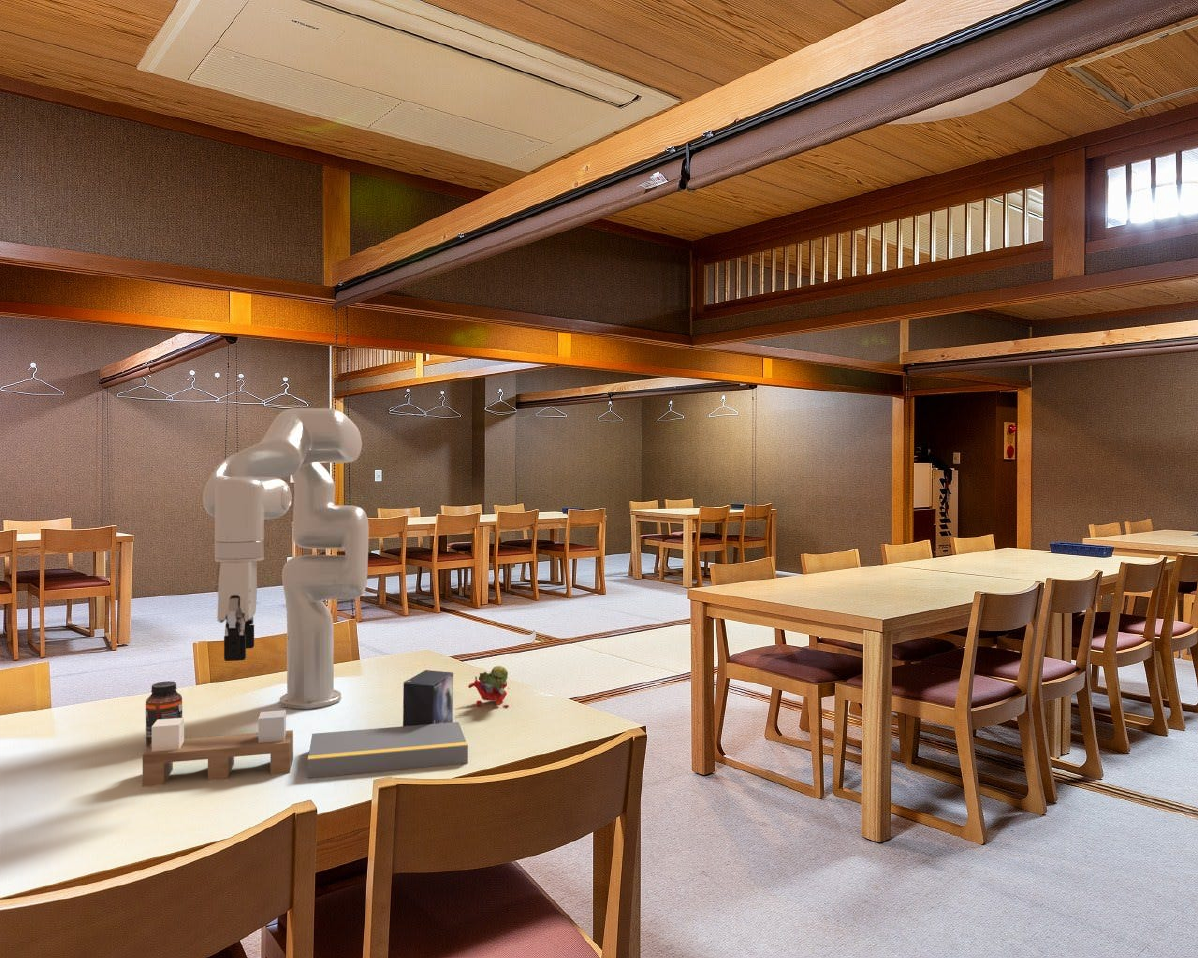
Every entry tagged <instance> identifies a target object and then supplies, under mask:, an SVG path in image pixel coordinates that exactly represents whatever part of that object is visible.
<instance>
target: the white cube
mask: <svg viewBox="0 0 1198 958" xmlns="http://www.w3.org/2000/svg"><path fill="white" fill-rule="evenodd" d="M257 721H258V722H257V723H258V729H257V731H258V732H257V733H258V743H262V742H274V741H284V739H285V735H286V731H287V710H286V709H284V710H271V711H260V714H259V717H258V720H257Z"/></svg>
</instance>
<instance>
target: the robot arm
mask: <svg viewBox="0 0 1198 958" xmlns="http://www.w3.org/2000/svg"><path fill="white" fill-rule="evenodd" d="M362 448H363V440H362V434H361V433H360V429H359V428H358V426H357V425H356V424H355V423H354V422H353V420H351V419H350V418H349V417H348V416H347V415H346V414H345V413H343V412H342V411H340V410H337V409H335V408H329V407H328V408H326V407H325V408H322V407H321V408H320V407H319V408H318V407H317V408H314V407H313V408H312V407H309V408H308V407H307V408H306V407H305V408H303V407H298V408H294V407H292V408H288V409H285V410H283V411H282V410H281V412H280V413H278V414H277V415H276V417H275V418H274V420H273V421H272V423H271V425H270V426H269V428H268V430H267V432H266V433H265V434H264V436H263V437H262V439H261V441H260V442H258V443H256V444H254V445H251V446H249V447H246V448H244V449H242V450H241V451H238V452H236V453H234V454H232V455H229V456H228V457H227V458H225V459H223V460H222V461H221V462H219V464H218V465H216V467H215V469H214V470H213V472H212V473H211V475H210V477H209V478H208V480H207V482H206V484H205V487H204V490H203V494H202V504H203V507H204V510H205V511H206V513H207V514H208V515H209V516H211V517H212V518H214V562H216V563H220V564H219V565H220V567H219V574H218V575H219V576H218V591H217V593H218V594H217V596H218V597H217V615H216V616H217V617H216V619H217V621H218V623H222V624H223V623H224V622H225V626H224V636H223V644H224V645H223V660H224V661H225V662H233V661H234V662H235V661H237V662H238V661H245V660H246V658H247V649H253V648H254V647H255V624H254V616H255V614H256V611H257V600H258V598H257V597H258V581H257V580H258V568H257V566H258V564H257V563H258V562H260V561H264V559H265V557H264V555H265V553H264V552H265V548H264V547H265V546H264V545H265V542H264V541H265V538H264V537H265V536H264V534H265V530H264V529H265V528H264V527H265V526H264V525H265V524H264V523H265V522H264V521H265V520H276V519H279V518H282V517H284V515H285V514H287V513H288V512H289V510H290V507H291V505H292V501H293V508H292V509H293V511H292V539H293V542H294V544H295V545H296V546H297V547H299V548H303V549H309V550H311V549H314V550H343V551H344V553H345V554H343V555H342V554H339V555H338V554H337V555H336V554H334V555H333V554H331V555H329V554H304V555H298V556H297V555H296V556H294V557H292V558H290V559H288V560H287V561H286V562H285V564H284V566H283V567H282V571H281V581H282V582H281V583H282V587H283V593H284V598H285V607H286V609H285V610H286V676H287V677H286V678H287V679H286V685H287V687H286V688H287V690H286V691H287V692H286V693H285V694H283V695H281V696H280V697H279V705H280V704H281V705H282V706H281V705H280V706H281V707H283V706H284V708H286V707H288V708H287V709H293V708H294V710H299V709H300V710H303V709H304V710H308V709H318V708H323V707H327V706H331V705H335V704H336V703H338V702H339V701H340V700H341V699H342V693H341V691H339V690H336V689H335V688H334V684H335V683H334V680H335V679H334V678H335V677H334V676H335V675H334V672H335V668H334V666H335V665H334V664H335V661H334V660H335V659H334V649H335V648H334V645H335V644H334V641H335V640H334V637H335V636H334V633H335V632H334V618H333V614H332V612H331V611H330V609H329V608H328V607H327V606H326V604H325V603H324V601H326V600H356V599H358V598H360V597H362V596H363V595H364V593H365V591H366V588H367V584H368V583H367V582H368V568H369V567H368V565H369V563H368V561H369V539H370V538H369V537H370V533H369V527H370V526H369V519H368V516H367V513H366V511H365V509H364V508H362V507H360V506H356V505H349V504H348V505H347V504H346V505H345V504H344V505H341V504H340V505H336V502H335V501H336V497H335V496H336V482H335V480H334V478H333V476H331V474H330V473H329V471H328V470H327V469H326V468H325V467H324V465H322V464H321V463H323V464H326V463H327V464H328V463H329V464H334V463H335V464H343V463H344V464H345V463H347V464H348V463H352V462H355V461H356V460H357V459H358V458H359V457H360V455H361V452H362ZM290 476H291V478H292V481H293V485H294V488H293V489H294V490H293V491H294V492H293V493H294V494H293V496H292V490H291V489H290V487H289V484H288V483H287V482H286V481H284V480H283V479H284V478H287V477H290ZM292 499H293V500H292Z"/></svg>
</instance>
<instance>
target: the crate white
mask: <svg viewBox="0 0 1198 958" xmlns="http://www.w3.org/2000/svg"><path fill="white" fill-rule="evenodd" d="M184 739H185V718H184V717H182V718H173V719H159V720H157V721H156V722H155V723H154V724H153V726H152V752H153V751H165V750H177V749H180V747H181V746H182V744H183V742H184Z"/></svg>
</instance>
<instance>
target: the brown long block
mask: <svg viewBox="0 0 1198 958" xmlns="http://www.w3.org/2000/svg"><path fill="white" fill-rule="evenodd" d="M258 755H259V756H260V755H270V756H269V757H270V762H269V763H270V775H271V776H273V775H280V774H281V775H282V774H283V775H284V774H290V773H291V770H292V766H293V762H294V730H293V729H291V730H286V735H285V739H284V741H274V742H262V743H258V732H252V733H242V734H229V735H217V736H205V737H204V736H202V737H192V738H191V737H190V738H184V742H183V744H182V746H181V747H180V749H177V750H165V751H153V752H152V743H151V745H150V746H149V747H148V748H147V749H146V750H145V751H144V753H142V787H152V786H163V785H165V783H166V781H167V780H168V778H169V777H170V775H171V773H172V772H173V770H174V763H177V762H179V763H180V762H186V761H187V762H189V761H201V760H207V781H215V780H216V781H218V780H227V779H229V777H230V774H231V772H232V769H233V767H234V765H235V758H236V757H247V756H258Z"/></svg>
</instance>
